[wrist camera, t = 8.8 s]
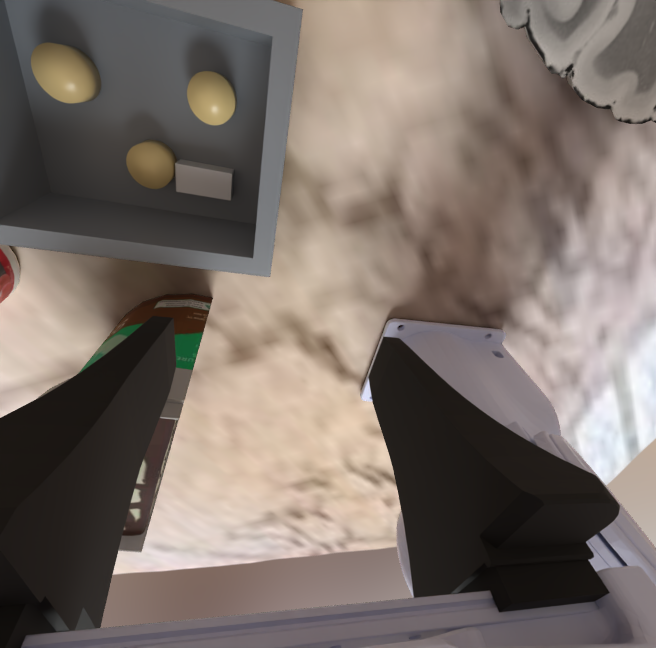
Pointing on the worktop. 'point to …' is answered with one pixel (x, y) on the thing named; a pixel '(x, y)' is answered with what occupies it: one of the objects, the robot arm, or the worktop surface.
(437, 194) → the worktop surface
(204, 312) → the food container
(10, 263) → the pill bottle
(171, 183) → the tub
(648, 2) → the brain slice
